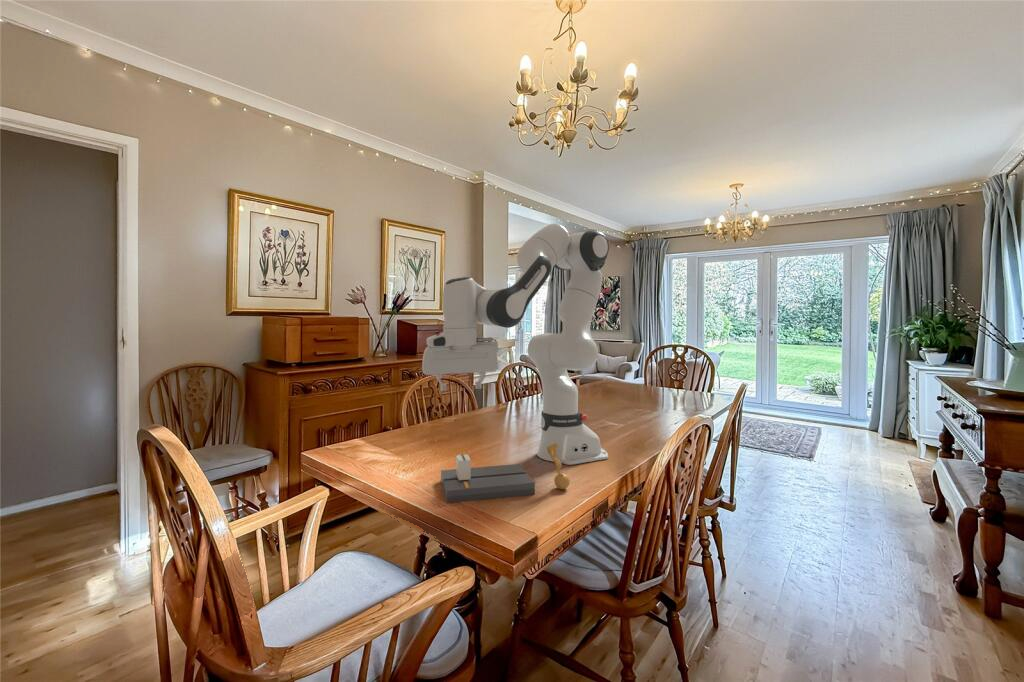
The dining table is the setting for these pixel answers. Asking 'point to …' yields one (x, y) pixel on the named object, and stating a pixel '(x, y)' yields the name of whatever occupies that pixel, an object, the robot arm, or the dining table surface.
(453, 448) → the dining table surface
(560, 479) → the figurine
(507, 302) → the robot arm
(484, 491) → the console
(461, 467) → the fader tab
